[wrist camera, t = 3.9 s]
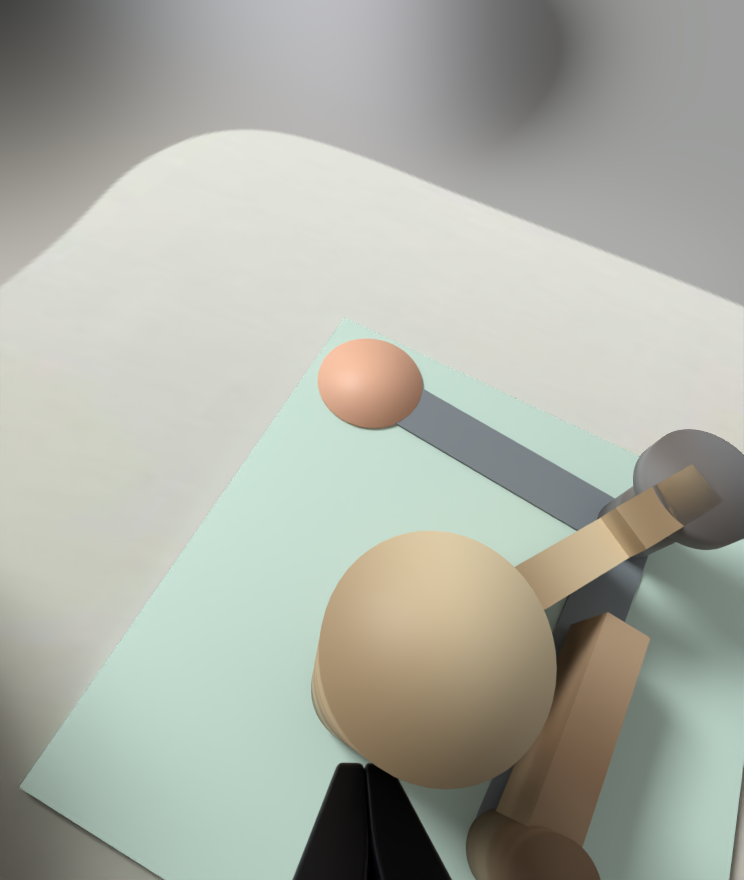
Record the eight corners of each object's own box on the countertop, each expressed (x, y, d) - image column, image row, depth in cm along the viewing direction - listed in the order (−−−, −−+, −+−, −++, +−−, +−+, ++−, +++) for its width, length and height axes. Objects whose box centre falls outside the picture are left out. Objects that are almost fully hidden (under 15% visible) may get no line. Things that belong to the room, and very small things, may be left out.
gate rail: (633, 468, 19) (899, 268, 10) (695, 548, 18) (1051, 398, 9) (290, 656, 15) (271, 579, 6) (343, 775, 14) (404, 872, 5)
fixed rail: (606, 491, 19) (667, 447, 15) (660, 522, 18) (733, 483, 15) (449, 863, 13) (493, 908, 10) (521, 915, 13) (589, 978, 10)
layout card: (678, 1200, 11) (691, 1214, 11) (24, 785, 13) (16, 787, 13) (767, 522, 19) (776, 518, 19) (343, 322, 21) (344, 315, 21)
